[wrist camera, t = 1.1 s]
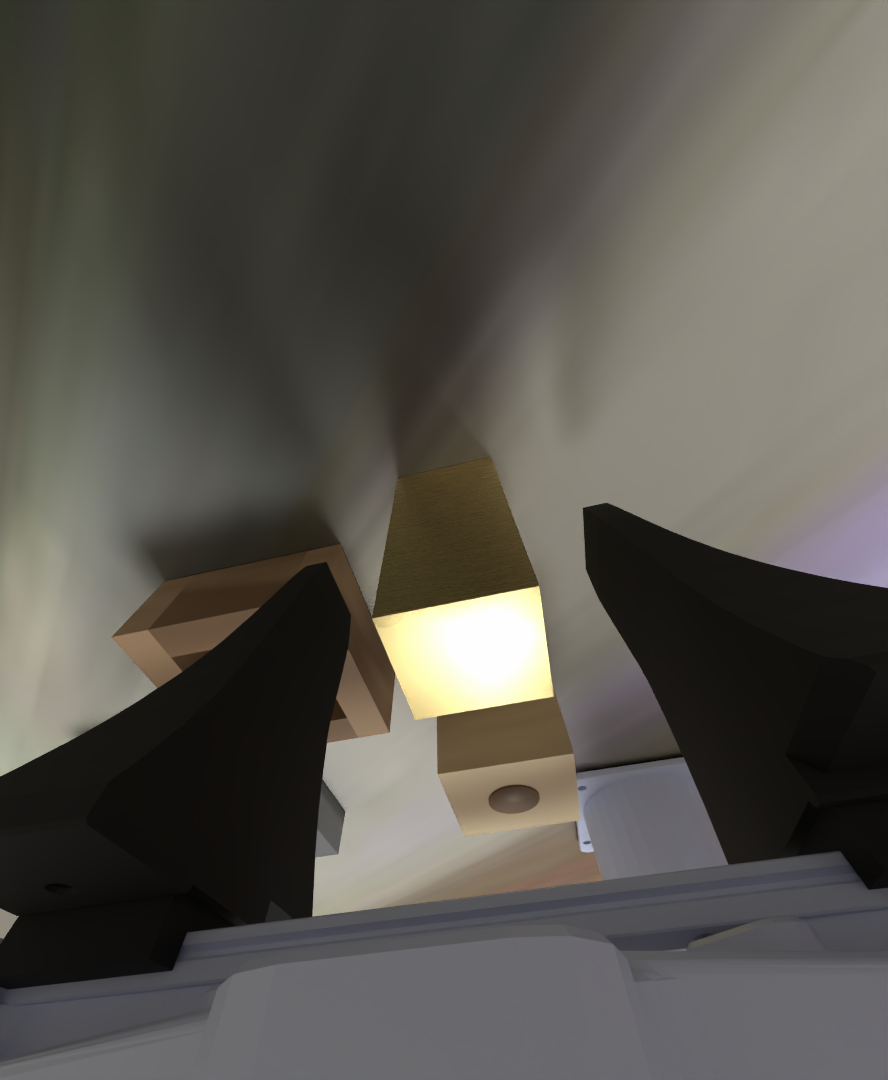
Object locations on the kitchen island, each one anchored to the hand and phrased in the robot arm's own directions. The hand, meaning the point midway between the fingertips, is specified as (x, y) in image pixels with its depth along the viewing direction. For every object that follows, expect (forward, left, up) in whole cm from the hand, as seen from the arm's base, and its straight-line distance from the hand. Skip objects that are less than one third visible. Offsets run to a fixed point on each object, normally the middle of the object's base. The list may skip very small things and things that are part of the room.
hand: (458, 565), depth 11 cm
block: (-9, 0, -4) cm, 10 cm away
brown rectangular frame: (-4, +8, -4) cm, 10 cm away
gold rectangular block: (0, 0, -4) cm, 4 cm away
